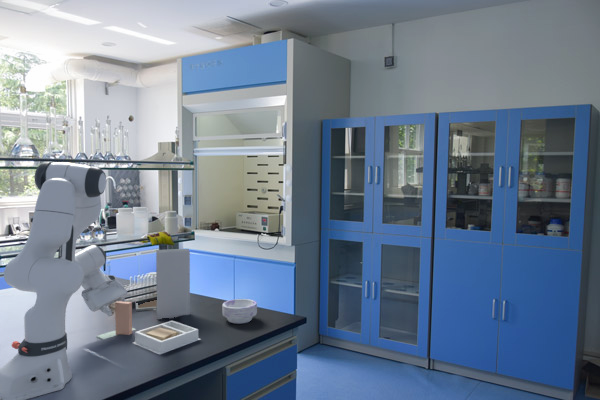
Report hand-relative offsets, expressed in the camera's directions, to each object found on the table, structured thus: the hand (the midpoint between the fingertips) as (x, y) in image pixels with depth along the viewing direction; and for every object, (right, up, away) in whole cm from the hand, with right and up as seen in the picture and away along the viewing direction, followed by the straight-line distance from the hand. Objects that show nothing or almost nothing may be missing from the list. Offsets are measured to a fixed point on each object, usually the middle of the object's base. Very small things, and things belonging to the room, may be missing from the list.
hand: (119, 311), depth 181 cm
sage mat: (+2, -10, 0) cm, 10 cm away
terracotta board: (+2, -9, 0) cm, 9 cm away
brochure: (+15, -8, +25) cm, 30 cm away
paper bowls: (+45, -9, +21) cm, 51 cm away
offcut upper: (+20, -8, -9) cm, 23 cm away
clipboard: (0, -7, +46) cm, 47 cm away
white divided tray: (+21, -11, -7) cm, 25 cm away
